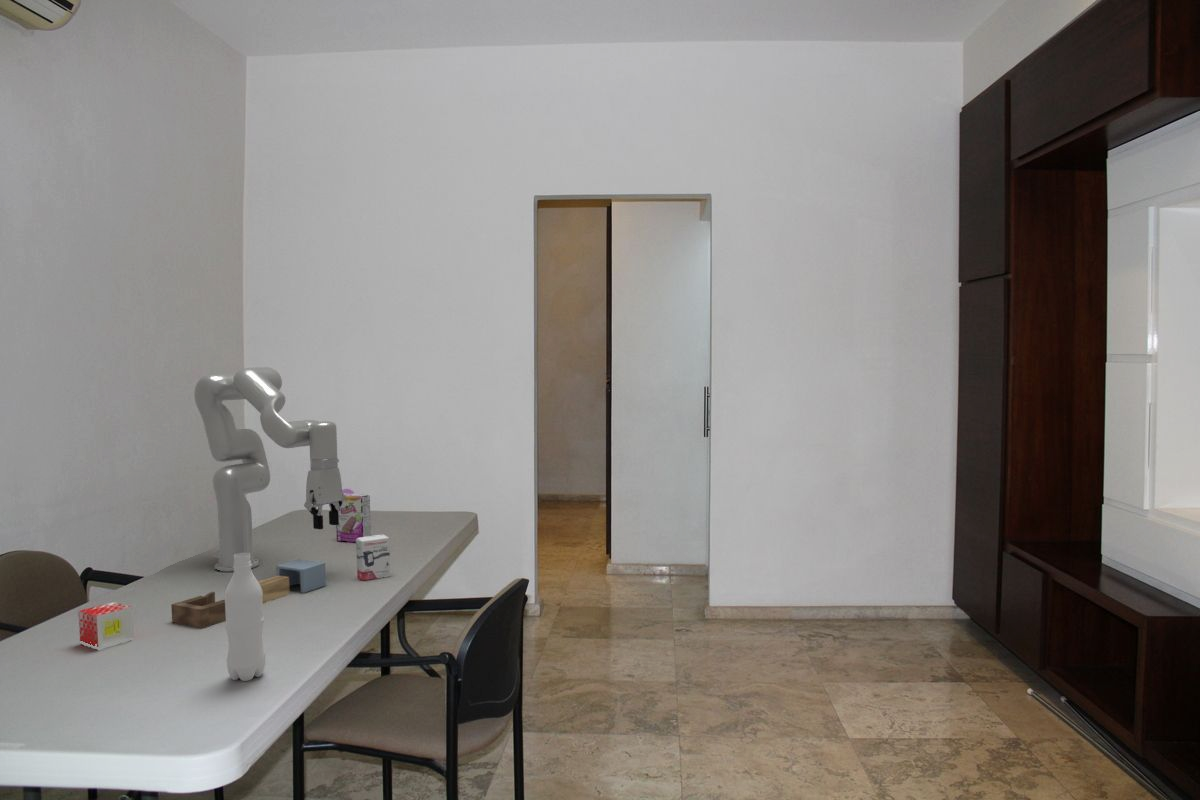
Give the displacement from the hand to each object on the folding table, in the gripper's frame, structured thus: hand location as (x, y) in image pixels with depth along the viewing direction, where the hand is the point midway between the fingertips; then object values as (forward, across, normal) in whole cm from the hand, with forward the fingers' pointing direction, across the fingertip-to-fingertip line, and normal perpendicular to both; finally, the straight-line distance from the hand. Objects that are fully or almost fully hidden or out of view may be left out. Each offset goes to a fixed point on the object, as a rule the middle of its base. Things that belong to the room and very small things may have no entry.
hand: (326, 526), depth 246 cm
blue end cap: (+15, +10, 0) cm, 18 cm away
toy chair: (+16, -57, -45) cm, 74 cm away
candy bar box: (+16, -41, -29) cm, 53 cm away
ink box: (+16, -7, +11) cm, 20 cm away
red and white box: (+16, +62, -6) cm, 64 cm away
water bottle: (+16, +63, +41) cm, 77 cm away
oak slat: (+16, +24, 0) cm, 29 cm away
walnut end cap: (+15, +40, 0) cm, 43 cm away
